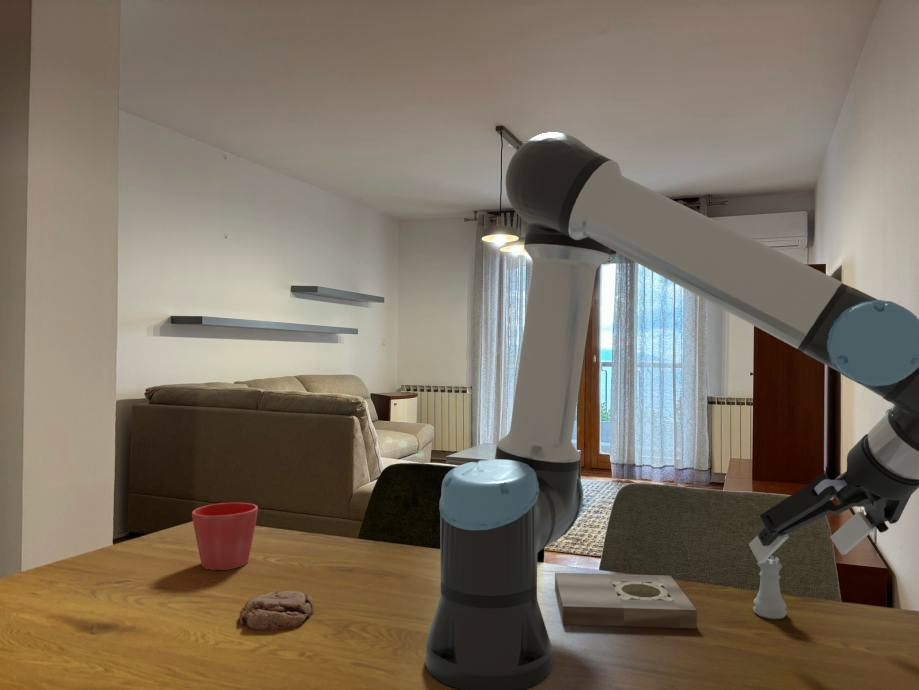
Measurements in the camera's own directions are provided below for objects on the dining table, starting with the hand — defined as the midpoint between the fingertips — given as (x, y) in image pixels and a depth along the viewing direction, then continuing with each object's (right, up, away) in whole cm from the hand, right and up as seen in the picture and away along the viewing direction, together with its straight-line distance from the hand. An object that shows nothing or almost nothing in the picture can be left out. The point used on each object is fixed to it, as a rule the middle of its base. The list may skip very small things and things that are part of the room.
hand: (797, 549), depth 91 cm
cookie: (-72, -11, +3) cm, 73 cm away
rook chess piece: (-2, -11, +5) cm, 12 cm away
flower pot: (-87, -11, +26) cm, 92 cm away
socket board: (-22, -11, +7) cm, 26 cm away
